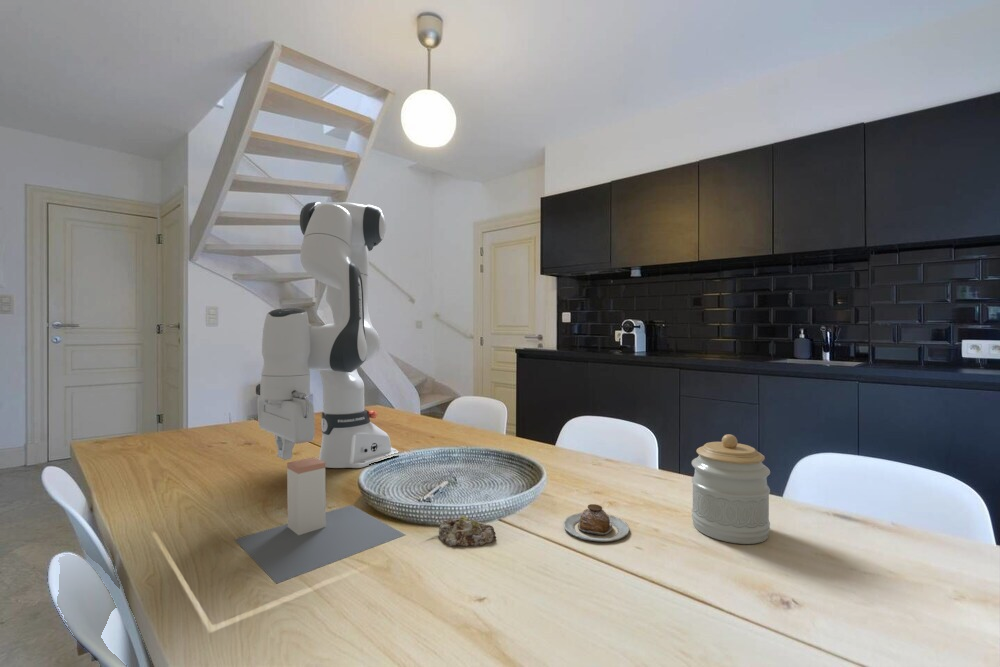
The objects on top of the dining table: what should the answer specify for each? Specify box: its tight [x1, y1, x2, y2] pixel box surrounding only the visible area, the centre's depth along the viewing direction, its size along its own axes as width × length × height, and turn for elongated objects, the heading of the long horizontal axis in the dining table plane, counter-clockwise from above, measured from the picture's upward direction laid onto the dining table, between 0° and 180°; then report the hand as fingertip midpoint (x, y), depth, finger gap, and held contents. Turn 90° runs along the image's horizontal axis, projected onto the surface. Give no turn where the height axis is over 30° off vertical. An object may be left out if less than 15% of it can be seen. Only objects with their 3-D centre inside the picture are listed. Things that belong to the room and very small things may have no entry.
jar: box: [691, 433, 771, 545], centre depth 85 cm, size 13×13×18 cm
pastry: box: [563, 504, 630, 542], centre depth 86 cm, size 12×12×5 cm
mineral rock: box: [438, 515, 497, 547], centre depth 82 cm, size 11×4×8 cm
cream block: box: [286, 456, 327, 535], centre depth 86 cm, size 5×5×12 cm
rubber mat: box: [234, 504, 406, 584], centre depth 81 cm, size 22×20×1 cm
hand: (284, 458), depth 92 cm, fingers closed
